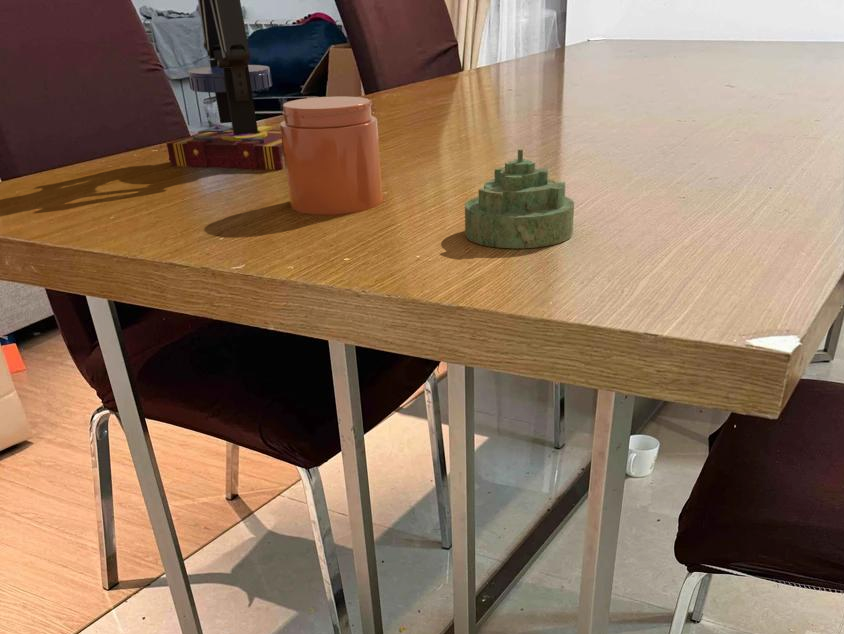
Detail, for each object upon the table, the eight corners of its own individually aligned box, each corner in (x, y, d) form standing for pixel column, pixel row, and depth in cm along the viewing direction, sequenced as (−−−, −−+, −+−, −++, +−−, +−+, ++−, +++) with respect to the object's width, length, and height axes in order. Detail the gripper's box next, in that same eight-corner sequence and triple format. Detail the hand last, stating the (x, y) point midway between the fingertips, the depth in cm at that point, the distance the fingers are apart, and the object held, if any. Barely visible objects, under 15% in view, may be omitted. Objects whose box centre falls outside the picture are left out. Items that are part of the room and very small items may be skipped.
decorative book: (284, 188, 97) (277, 140, 94) (164, 183, 101) (154, 136, 98) (325, 168, 105) (320, 123, 102) (213, 165, 109) (205, 121, 106)
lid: (271, 81, 102) (269, 63, 101) (273, 90, 94) (270, 71, 93) (193, 84, 100) (189, 67, 99) (188, 94, 93) (185, 75, 92)
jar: (296, 239, 79) (278, 112, 73) (291, 217, 86) (275, 99, 80) (390, 231, 80) (381, 105, 74) (378, 210, 87) (369, 93, 81)
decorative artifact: (564, 218, 82) (463, 222, 82) (569, 137, 78) (461, 141, 78) (579, 246, 74) (467, 250, 74) (585, 158, 70) (466, 162, 70)
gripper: (254, -131, 79) (289, 138, 93) (218, -114, 95) (252, 113, 109) (173, -130, 77) (221, 144, 91) (150, -113, 93) (194, 118, 107)
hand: (238, 127), depth 100 cm, fingers closed on lid, 9 cm apart
